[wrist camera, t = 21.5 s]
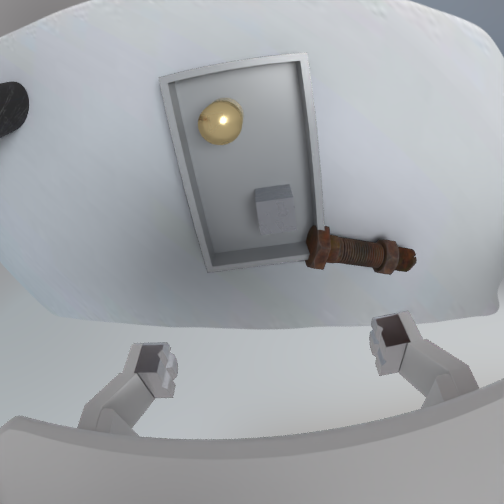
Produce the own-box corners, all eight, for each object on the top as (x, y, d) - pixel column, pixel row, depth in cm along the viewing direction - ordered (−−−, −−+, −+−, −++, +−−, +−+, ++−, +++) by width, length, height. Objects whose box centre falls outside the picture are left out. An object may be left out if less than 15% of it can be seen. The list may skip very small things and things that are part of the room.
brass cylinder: (240, 94, 31) (238, 99, 26) (246, 129, 33) (245, 141, 28) (203, 101, 31) (193, 107, 26) (210, 135, 33) (202, 148, 28)
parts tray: (301, 54, 29) (307, 52, 26) (320, 241, 41) (325, 257, 38) (167, 76, 30) (158, 77, 27) (210, 256, 42) (207, 272, 39)
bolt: (398, 250, 43) (303, 235, 41) (417, 233, 39) (316, 214, 37) (404, 287, 41) (304, 276, 39) (425, 272, 36) (318, 258, 34)
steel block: (289, 184, 36) (293, 197, 33) (292, 214, 38) (296, 230, 35) (255, 188, 37) (255, 202, 33) (260, 218, 39) (261, 235, 35)
